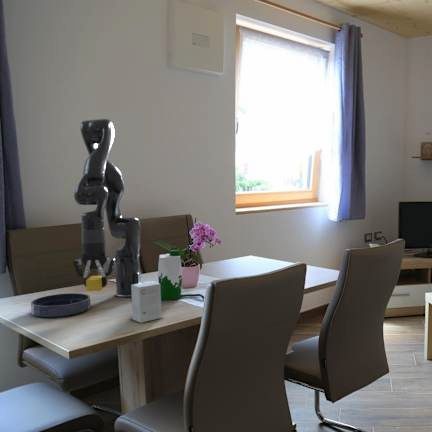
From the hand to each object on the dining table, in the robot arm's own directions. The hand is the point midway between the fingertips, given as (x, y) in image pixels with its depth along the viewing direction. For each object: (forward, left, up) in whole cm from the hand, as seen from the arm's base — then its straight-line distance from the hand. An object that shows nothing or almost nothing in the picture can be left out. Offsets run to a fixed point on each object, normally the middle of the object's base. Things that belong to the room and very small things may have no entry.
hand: (95, 286), depth 199 cm
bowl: (+15, -12, -12) cm, 23 cm away
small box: (-18, +4, -12) cm, 22 cm away
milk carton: (-22, -26, -12) cm, 36 cm away
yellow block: (0, 0, -1) cm, 1 cm away
